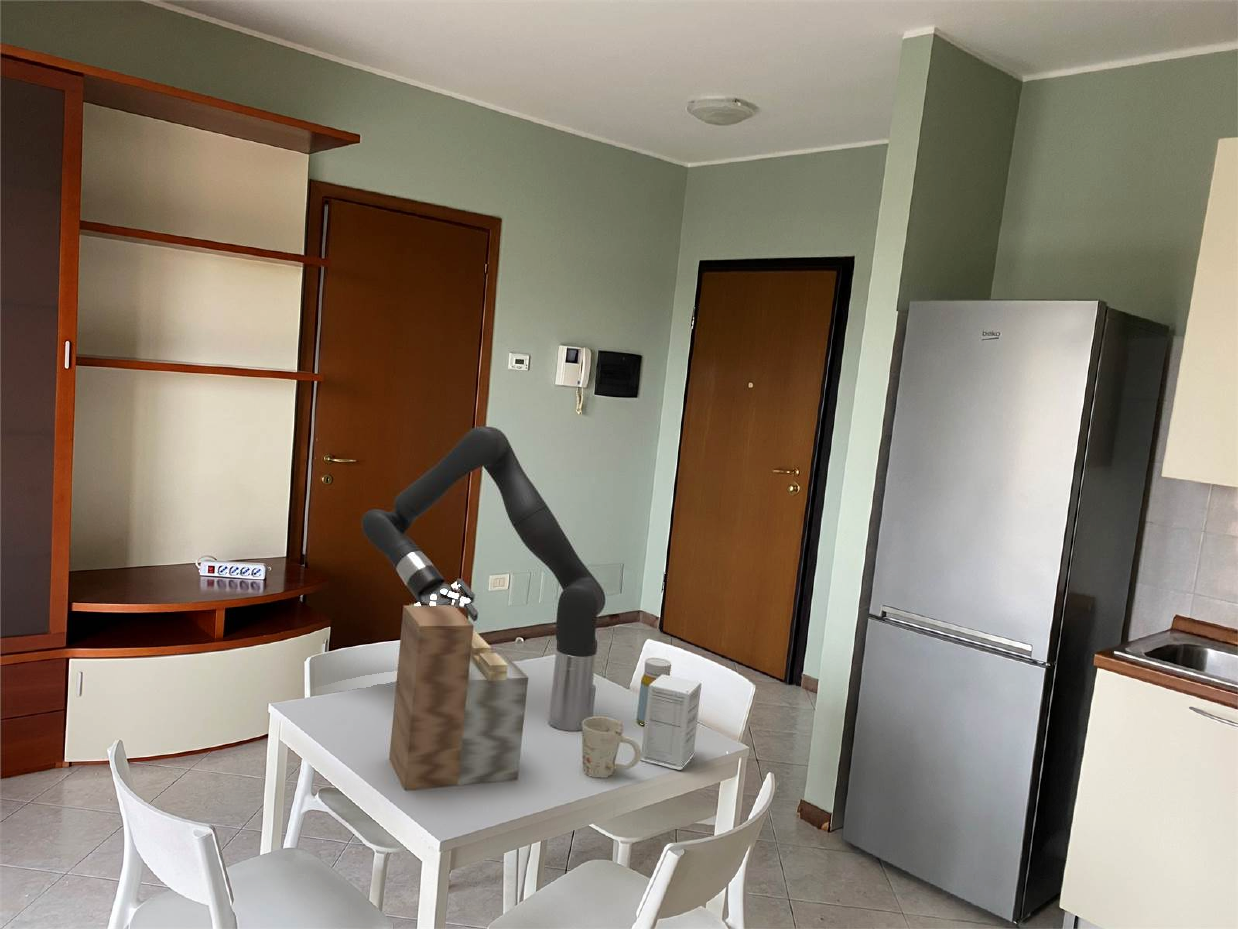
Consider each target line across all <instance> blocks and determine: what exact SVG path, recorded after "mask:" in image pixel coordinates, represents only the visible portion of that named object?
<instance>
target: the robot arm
mask: <svg viewBox="0 0 1238 929" xmlns="http://www.w3.org/2000/svg"><path fill="white" fill-rule="evenodd" d="M481 467H483V468H484V469H485V470H486V472H487V474H488V475H489V476H490V477H491V479H492V480H493V481H494V483H495V485H496V487H497V488H498V491H499V493H500V495H501V496H500V497H501V498H502V501H503V505H504V508H505V511H506V514H507V516H508V519H509V521H510V523H511V525H512V527H513V528H514V530H515V532H516V534H517V535H518V537H519V539H520V540H521V542H522V543H523V544H524V545H525V547H526V548H527V549H528V550H529V551H530V553H532V554H533V555H534V556H535V557H536V558H538V560H540V562H542V564H544V565H545V566H546V567H547V568H548V569H549V570H550V571H551V572H552V574H553V575H554V577H555V578H556V580H557V582H558V583H559V585H560V587H561V590H562V592H561V594H560V595H559V597H558V603H557V608H556V619H555V620H556V621H555V622H556V624H555V640H556V649H555V660H554V666H553V667H554V669H553V676H552V686H551V694H550V703H549V704H550V705H549V711H548V721H547V722H548V724H549V725H550V726H552V727H553V728H555V729H558V730H563V731H570V732H571V731H573V732H575V731H576V732H577V731H582V722H583V720H585V719H586V718H590V717H594V709H595V702H596V700H595V699H596V691H597V687H596V685H595V684H594V677H595V668H596V660H597V652H598V640H597V638H596V629H597V618H598V615H600V613H602V611H603V610H604V608H605V605H606V594H605V591H604V589H603V588H602V586H601V584H600V583H599V582H598V580H597V579H596V577H595V576H594V575H593V574H592V573H591V572H590V569H588V567H587V566H586V565H585V564H584V563H583V561H582V559H581V558H580V557H579V556H578V554H577V552H576V551H575V549H574V547H573V546H572V544H571V542H570V540H569V539H568V537H567V536H566V534H565V533H564V530H563V529H562V527H561V525H560V523H559V522H558V520H557V518H556V517H555V515H554V514H553V512H552V510H551V509H550V507H549V506H548V504H547V503H546V501H545V500H544V499H543V497H542V495H541V493H540V492H539V490H538V489H537V488H536V487H535V485H534V484H533V482H532V481H531V480H530V479H529V477H528V476H527V474H526V472H525V470H524V469H523V467H522V466H521V463H520V461H519V460H518V458H517V455H516V453H515V451H514V450H513V448H512V446H511V444H510V441H509V439H508V437H507V436H506V434H504V432H502V430H500V429H499V428H497V427H493V426H487V425H485V426H483V425H482V426H481V425H480V426H476V427H473V428H471V429H470V430H469V431H468V432H467V433H466V434H465V435H464V436H463V437H462V438H461V439H460V440H459V441H458V442H457V444H455V446H454V447H453V448H452V449H451V450H450V451H449V452H448V453H447V454H446V455H445V457H443V458H442V459H441V460H440V461H439V462H438V463H437V464H435V465H434V466H433V467H432V468H431V469H429V470H428V471H427V472H425V473H424V474H423V475H421V476H420V477H419V478H418V479H417V480H415V481H413V483H411V484H410V485H408V486H407V487H406V488H405V489H404V490H402V491H401V492H400V493H399V494H397V496H395V498H394V502H393V503H394V508H393V509H392V510H391V511H389V512H388V511H386V510H383V509H377V508H375V509H370V510H368V511H366V512H365V513H364V514H363V515H362V518H361V522H360V524H361V525H360V527H361V531H362V533H363V535H364V537H365V538H366V539H367V540H368V541H369V542H370V543H371V545H373V546H374V547H375V548H376V549H377V550H378V552H379V551H380V553H382V554H383V555H384V557H385V556H386V558H387V559H388V562H390V563H391V565H392V566H393V567H394V569H395V570H396V572H397V574H398V575H399V577H400V579H401V580H402V582H403V583H404V585H405V586H406V587H407V589H409V591H410V592H411V593H412V595H413V596H414V598H415V599H416V600H417V601H418V602H417V603H409V605H408V606H415V605H454V606H455V607H456V608H458V607H459V608H462V609H465V610H464V611H465V612H466V613H467V614H468V616H469V617H470V619H471V620H472V621H473V622H475V621H478V617H479V616H478V615H479V612H478V610H477V609H476V607H475V606H474V605H473V603H474V602H475V598H476V597H475V596H476V593H474V592H473V590H472V589H471V588H470V587H469V586H468V585H467V583H465V582H464V580H463V579H462V578H457V579H456V581H455V582H454V583H453V584H449V583H447V581H446V579H445V578H444V577H443V575H442V574H441V573H440V572H439V570H438V569H437V568H436V566H435V565H434V564H433V563H432V561H431V560H430V559H429V558H428V557H427V556H426V555H425V554H424V552H423V551H421V549H420V548H419V546H418V545H417V544H416V543H415V542H414V540H413V539H412V538H410V537H409V536H407V535H405V534H406V532H407V531H408V530H409V529H410V528H411V527H412V525H413V524H414V523H415V521H416V520H417V519H418V518H419V517H420V516H422V515H423V514H425V513H426V512H427V511H428V510H430V509H431V508H432V507H433V506H434V505H436V504H437V503H438V502H439V501H440V500H442V498H443V497H444V496H445V495H446V494H447V492H449V491H450V489H451V488H452V487H453V486H455V484H457V483H458V482H459V481H460V480H461V479H462V478H464V477H465V476H467V475H469V474H470V473H472V472H474V471H476V470H477V469H480V468H481ZM454 591H456V592H457V593H455V592H454ZM461 595H462V596H461Z"/></svg>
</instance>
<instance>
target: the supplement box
mask: <svg viewBox="0 0 1238 929" xmlns="http://www.w3.org/2000/svg"><path fill="white" fill-rule="evenodd" d="M701 690H702V682H699V681H694V680H690V679H686V678H681V677H677V676H673V675H670V676H668V675H663V674H662V675H661V676H660V677H658V678H657V679H656V680H655V681H653V682H652V683H651V684H650V685H649V689H648V698H647V707H646V715H645V725H644V726H643V735H642V746H641V757H640V759H641V758H643V759H645V760H650V761H654V762H657V763H664V764H668V765H671V766H676V767H683V766H684V765H685V763H686V762H687V761H688V760H689V759H690V757H691V756H692V755H693V753H694V754H695V744H696V736H697V726H698V719H699V718H698V717H699V708H700V700H701Z"/></svg>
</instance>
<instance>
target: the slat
mask: <svg viewBox="0 0 1238 929" xmlns="http://www.w3.org/2000/svg"><path fill="white" fill-rule="evenodd" d="M491 652H492V647H491V646H490V645H489V644H488V642H486V641H485V640H484V638H482V637H481V635H480V634H478V633H477V632H476V630H474V629H473V637H472V647H471V657H470V660H471V661H472V663H473V664H474V665H475V666H476V667H477V668H478V669H479V671H480V672H481V673H482V674H483V675H484V676H485V677H486V679H487V680H488V681H498V680H506V678H507V668H508V664H507V663H506V662H505V661H504V660H503V659H502V658H501V657H500V656H499V655H500V654H498V653H497V652H494V653H493V652H492V653H491Z"/></svg>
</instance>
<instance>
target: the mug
mask: <svg viewBox="0 0 1238 929" xmlns="http://www.w3.org/2000/svg"><path fill="white" fill-rule="evenodd" d="M623 731H624V725H623V723H621V722H620V721H618V720H616V719H615V718H612V717H606V716H593V717H590V718H586V719H585V720H583V722H582V730H581V739H582V740H581V741H582V742H581V744H582V745H581V748H582V750H581V752H582V754H581V755H582V756H581V757H582V772H583V771H584V772H585V773H586V774H588V775H591V776H594V777H593V778H595V777H606V776H609V775H610V774H611V773H612V774H613V771H614V769H619V770H624V771H625V770H629V769H632V768H633V767H635V766H637V764H638V763H639V761H641V751H642V749H641V748H640V745H639V744H638V742H637V741H636V740H635V739H634V738H632V737H628V736H624V735H623ZM620 743H623V744H628V745H630V746H631V747H632V748H633V750H634V756H633V758H632V760H631V761H630V762H629V763H628V764H625V765H624V764H619V763H616V759H617V755H618V753H619V747H620ZM584 772H583V773H584ZM585 773H584V774H585ZM586 774H585V775H586ZM612 774H611V775H612ZM588 775H587V776H588ZM591 776H590V777H591ZM609 777H610V776H609ZM606 778H607V777H606Z"/></svg>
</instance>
